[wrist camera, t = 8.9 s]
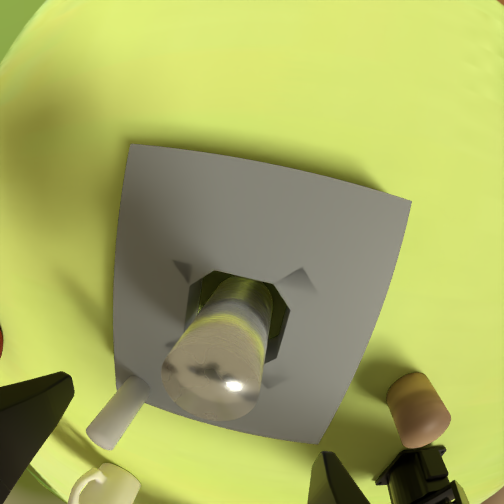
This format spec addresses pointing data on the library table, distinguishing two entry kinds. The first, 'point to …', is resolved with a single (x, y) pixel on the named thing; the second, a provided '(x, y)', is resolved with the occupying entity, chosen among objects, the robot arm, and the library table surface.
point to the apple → (1, 343)
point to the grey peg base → (250, 266)
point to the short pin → (417, 410)
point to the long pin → (222, 353)
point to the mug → (105, 486)
